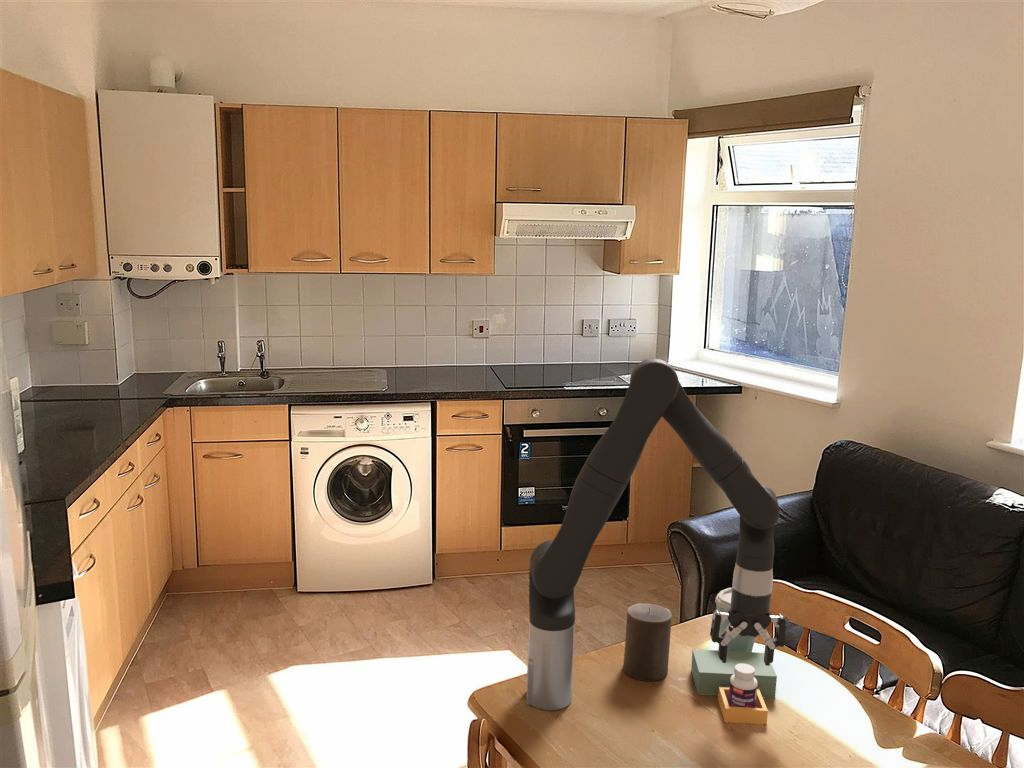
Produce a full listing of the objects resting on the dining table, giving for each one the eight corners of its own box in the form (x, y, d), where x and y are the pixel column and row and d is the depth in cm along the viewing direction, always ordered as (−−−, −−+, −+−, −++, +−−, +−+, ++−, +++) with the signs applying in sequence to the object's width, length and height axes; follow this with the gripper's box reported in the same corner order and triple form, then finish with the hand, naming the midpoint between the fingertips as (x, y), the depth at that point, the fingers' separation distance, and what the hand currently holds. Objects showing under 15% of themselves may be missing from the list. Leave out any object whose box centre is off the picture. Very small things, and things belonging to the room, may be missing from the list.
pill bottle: (727, 717, 177) (731, 673, 175) (727, 703, 182) (730, 659, 180) (755, 721, 176) (759, 676, 174) (754, 706, 181) (757, 663, 179)
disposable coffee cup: (729, 670, 196) (733, 607, 193) (701, 648, 205) (706, 587, 203) (768, 662, 199) (774, 600, 197) (740, 641, 209) (744, 581, 206)
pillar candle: (641, 685, 188) (646, 620, 185) (614, 665, 197) (618, 602, 194) (677, 675, 193) (682, 611, 190) (648, 655, 201) (653, 594, 199)
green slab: (704, 721, 176) (706, 698, 175) (691, 670, 195) (692, 649, 194) (786, 725, 175) (788, 702, 174) (764, 674, 194) (766, 653, 193)
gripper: (784, 581, 177) (776, 655, 180) (712, 576, 178) (706, 651, 181) (793, 596, 170) (785, 674, 173) (718, 592, 171) (711, 669, 174)
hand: (744, 662), depth 177 cm, fingers open, 8 cm apart
